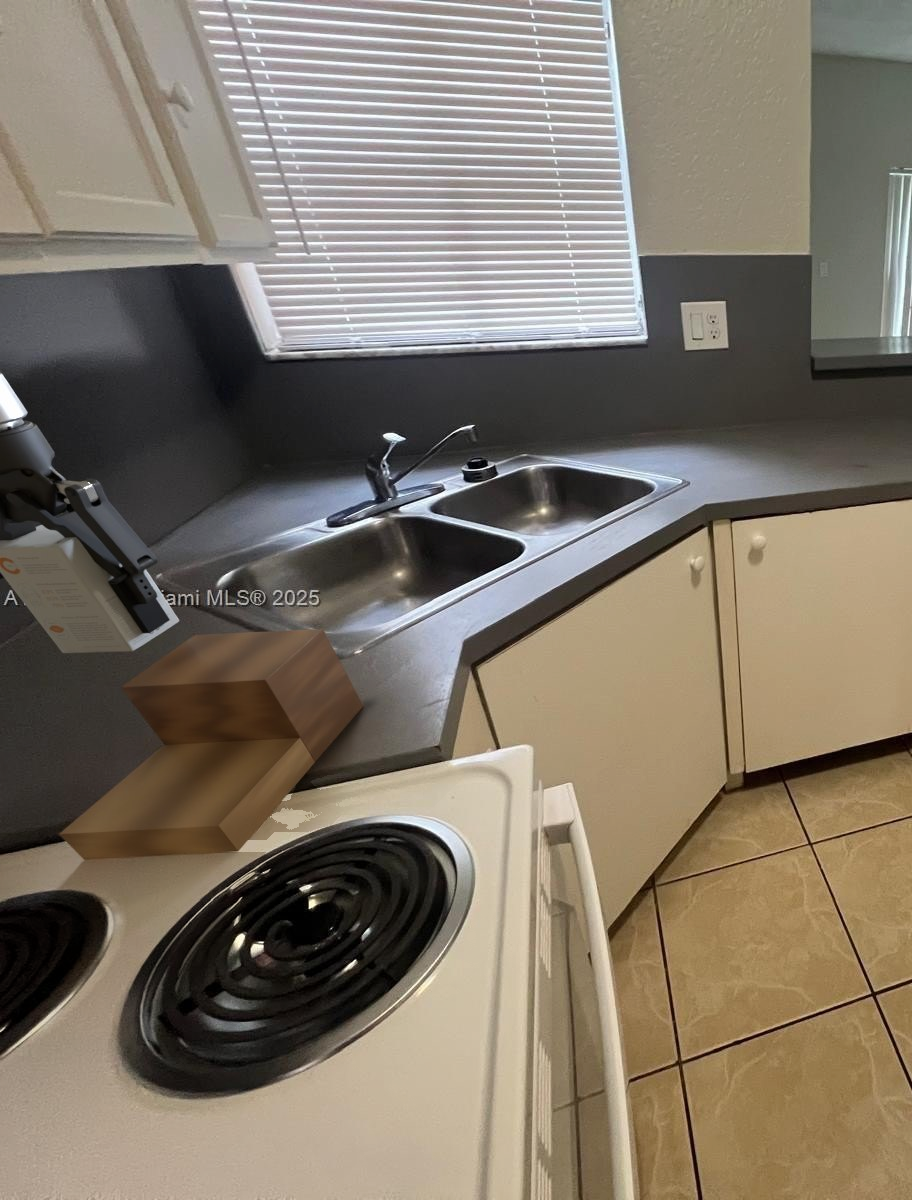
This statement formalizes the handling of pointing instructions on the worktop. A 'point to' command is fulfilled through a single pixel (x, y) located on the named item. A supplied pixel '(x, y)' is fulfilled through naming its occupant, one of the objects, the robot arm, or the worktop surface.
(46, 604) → the small box
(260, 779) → the shelf stand
